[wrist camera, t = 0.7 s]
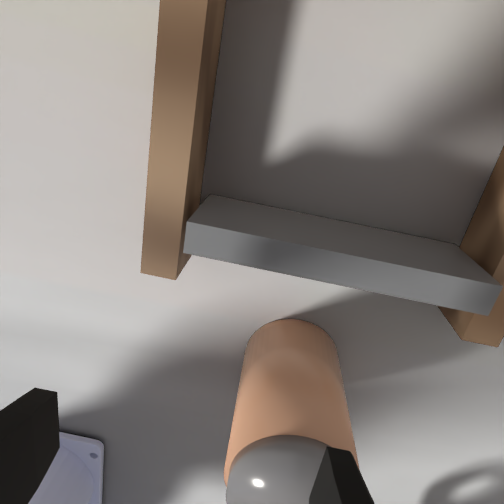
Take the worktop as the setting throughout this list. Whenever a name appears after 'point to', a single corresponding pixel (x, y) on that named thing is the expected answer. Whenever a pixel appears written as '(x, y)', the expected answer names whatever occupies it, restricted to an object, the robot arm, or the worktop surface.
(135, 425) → the worktop surface
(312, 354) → the jar
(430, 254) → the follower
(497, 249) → the brown wooden frame
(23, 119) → the worktop surface
